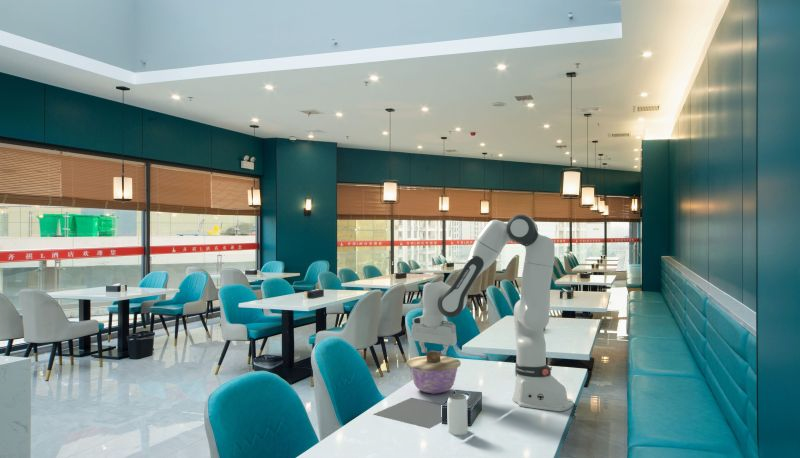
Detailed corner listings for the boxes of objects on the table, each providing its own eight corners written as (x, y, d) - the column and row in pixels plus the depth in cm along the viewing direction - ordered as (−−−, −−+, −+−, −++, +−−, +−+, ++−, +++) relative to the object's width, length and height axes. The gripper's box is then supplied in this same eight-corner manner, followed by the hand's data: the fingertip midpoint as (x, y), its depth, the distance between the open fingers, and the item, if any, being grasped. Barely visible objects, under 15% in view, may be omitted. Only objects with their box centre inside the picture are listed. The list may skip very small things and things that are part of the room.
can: (466, 437, 174) (466, 399, 174) (446, 436, 175) (446, 398, 175) (468, 430, 180) (468, 393, 180) (448, 429, 181) (448, 392, 181)
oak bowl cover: (470, 362, 226) (470, 350, 226) (442, 373, 208) (442, 360, 208) (425, 355, 239) (425, 344, 239) (395, 365, 221) (395, 353, 221)
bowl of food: (399, 394, 221) (399, 365, 221) (426, 382, 237) (426, 355, 237) (442, 402, 209) (442, 372, 209) (467, 389, 226) (467, 361, 226)
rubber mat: (465, 410, 200) (465, 408, 200) (429, 430, 180) (429, 428, 180) (411, 399, 214) (411, 397, 214) (372, 415, 195) (372, 414, 195)
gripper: (459, 321, 220) (459, 355, 220) (417, 316, 232) (417, 349, 232) (451, 323, 215) (451, 358, 215) (408, 318, 227) (409, 352, 227)
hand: (433, 353), depth 223 cm, fingers open, 8 cm apart
